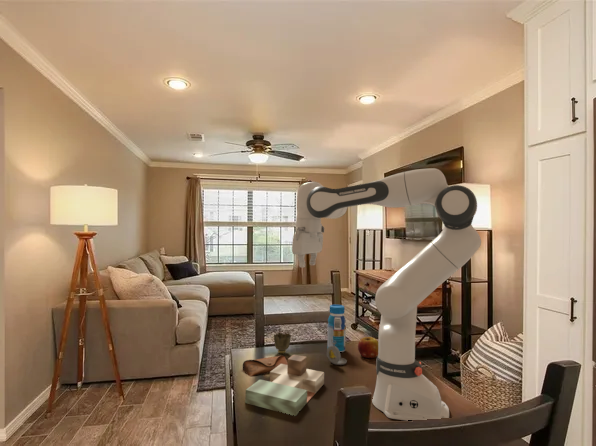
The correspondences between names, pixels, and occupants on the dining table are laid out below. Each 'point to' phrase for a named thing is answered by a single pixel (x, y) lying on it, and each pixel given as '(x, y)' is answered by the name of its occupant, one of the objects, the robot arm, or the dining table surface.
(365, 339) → the fruit
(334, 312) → the blue labeled canister
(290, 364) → the walnut block
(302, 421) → the dining table surface
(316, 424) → the dining table surface
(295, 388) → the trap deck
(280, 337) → the cup
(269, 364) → the sunglasses case
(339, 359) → the pocket watch
